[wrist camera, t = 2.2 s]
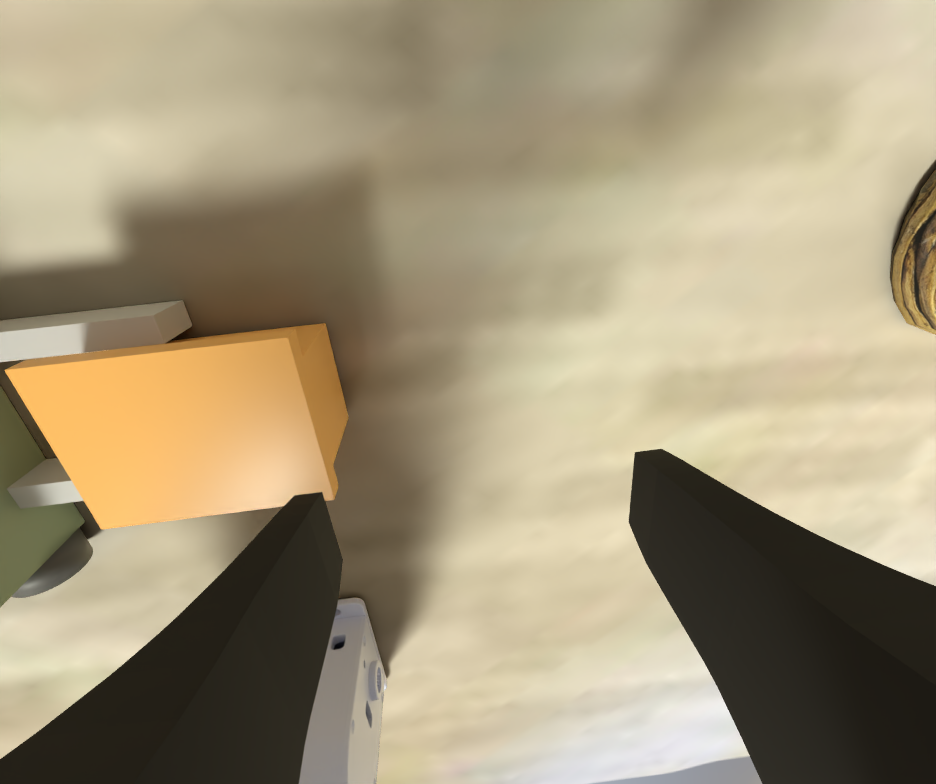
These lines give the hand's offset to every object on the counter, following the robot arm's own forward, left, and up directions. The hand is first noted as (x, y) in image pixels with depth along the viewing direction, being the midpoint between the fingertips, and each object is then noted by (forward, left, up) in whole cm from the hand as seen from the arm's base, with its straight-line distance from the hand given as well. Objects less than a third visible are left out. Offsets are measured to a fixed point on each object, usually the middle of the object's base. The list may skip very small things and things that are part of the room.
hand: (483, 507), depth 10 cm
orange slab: (+9, 0, -9) cm, 13 cm away
